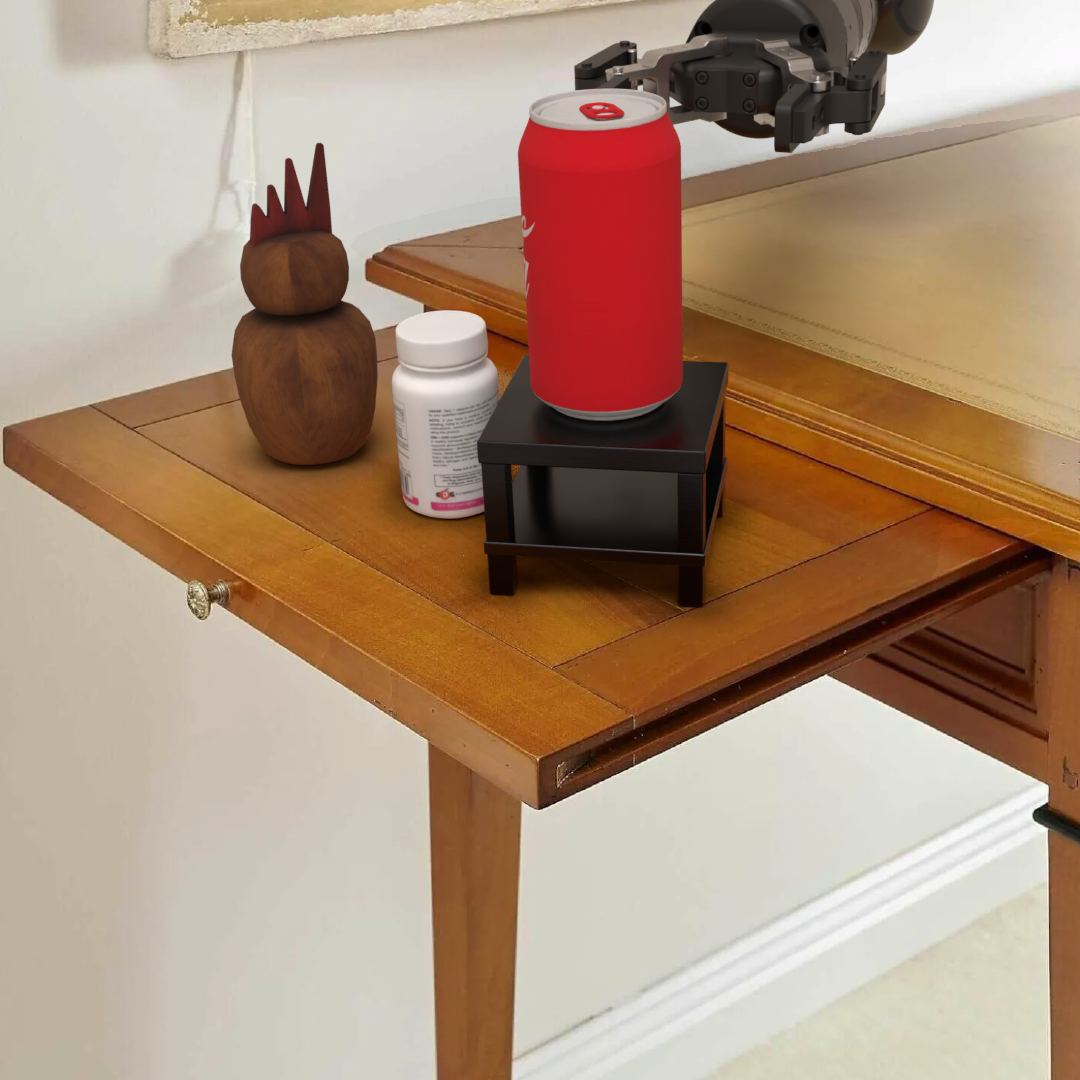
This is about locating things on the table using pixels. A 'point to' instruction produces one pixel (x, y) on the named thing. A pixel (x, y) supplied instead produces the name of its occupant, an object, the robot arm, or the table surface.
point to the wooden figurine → (302, 331)
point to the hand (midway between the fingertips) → (687, 125)
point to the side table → (606, 481)
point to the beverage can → (602, 252)
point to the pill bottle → (442, 410)
